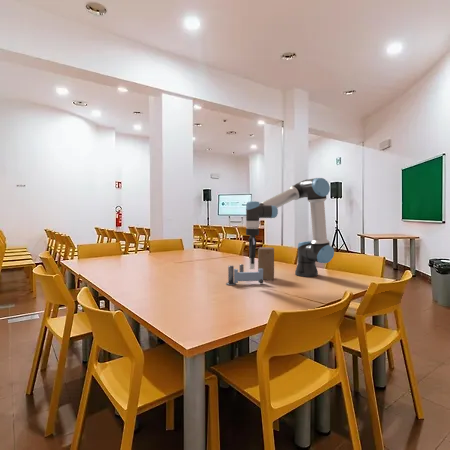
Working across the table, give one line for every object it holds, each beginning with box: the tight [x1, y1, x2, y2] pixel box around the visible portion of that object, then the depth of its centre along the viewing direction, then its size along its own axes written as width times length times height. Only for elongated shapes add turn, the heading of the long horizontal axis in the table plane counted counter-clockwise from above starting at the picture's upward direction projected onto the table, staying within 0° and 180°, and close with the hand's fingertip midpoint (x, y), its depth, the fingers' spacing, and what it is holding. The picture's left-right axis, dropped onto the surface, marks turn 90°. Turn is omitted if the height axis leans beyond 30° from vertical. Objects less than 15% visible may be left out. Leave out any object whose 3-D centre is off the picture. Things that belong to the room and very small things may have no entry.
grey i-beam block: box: [234, 268, 264, 284], centre depth 186 cm, size 17×3×8 cm, turn 93°
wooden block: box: [257, 246, 275, 281], centre depth 201 cm, size 10×10×20 cm
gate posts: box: [225, 263, 245, 286], centre depth 194 cm, size 6×23×11 cm, turn 157°
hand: (252, 269), depth 179 cm, fingers closed
